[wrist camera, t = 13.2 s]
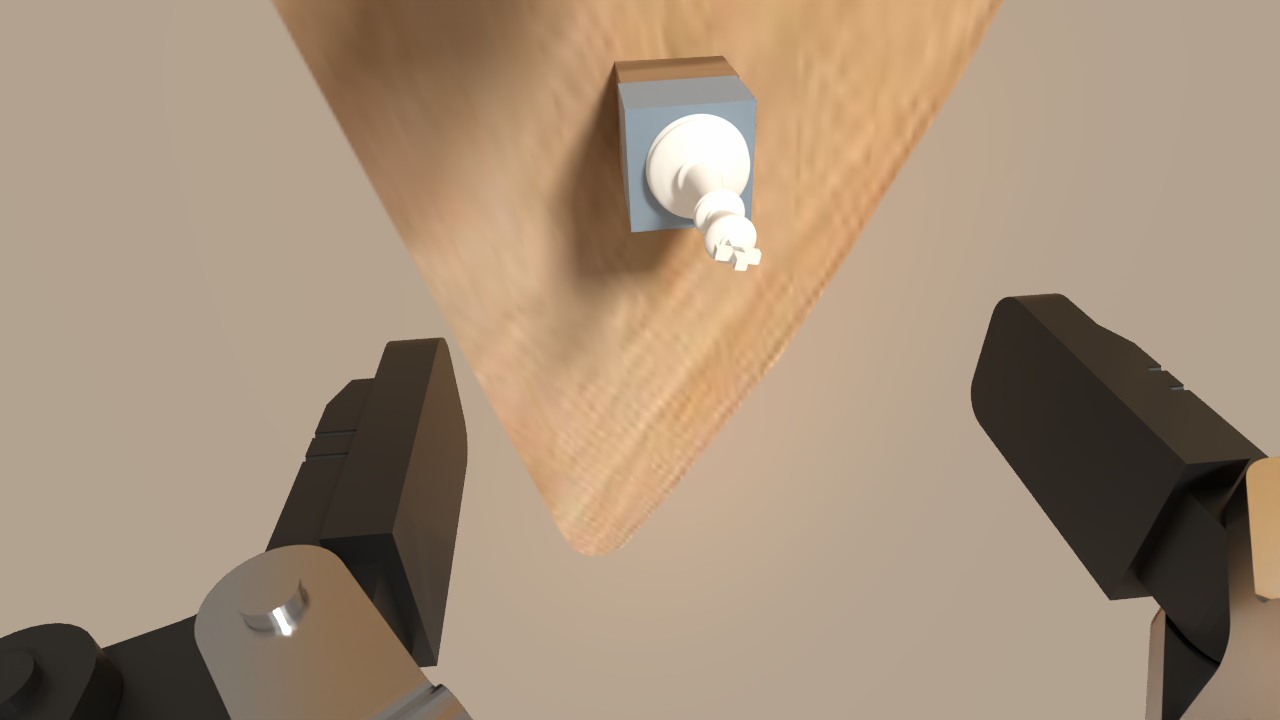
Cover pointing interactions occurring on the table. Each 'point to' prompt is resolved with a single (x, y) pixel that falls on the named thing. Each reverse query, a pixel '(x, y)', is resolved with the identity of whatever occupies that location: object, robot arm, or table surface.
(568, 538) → the table surface
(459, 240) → the table surface
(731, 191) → the chess piece
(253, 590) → the robot arm
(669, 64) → the walnut block
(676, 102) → the slate-blue block
